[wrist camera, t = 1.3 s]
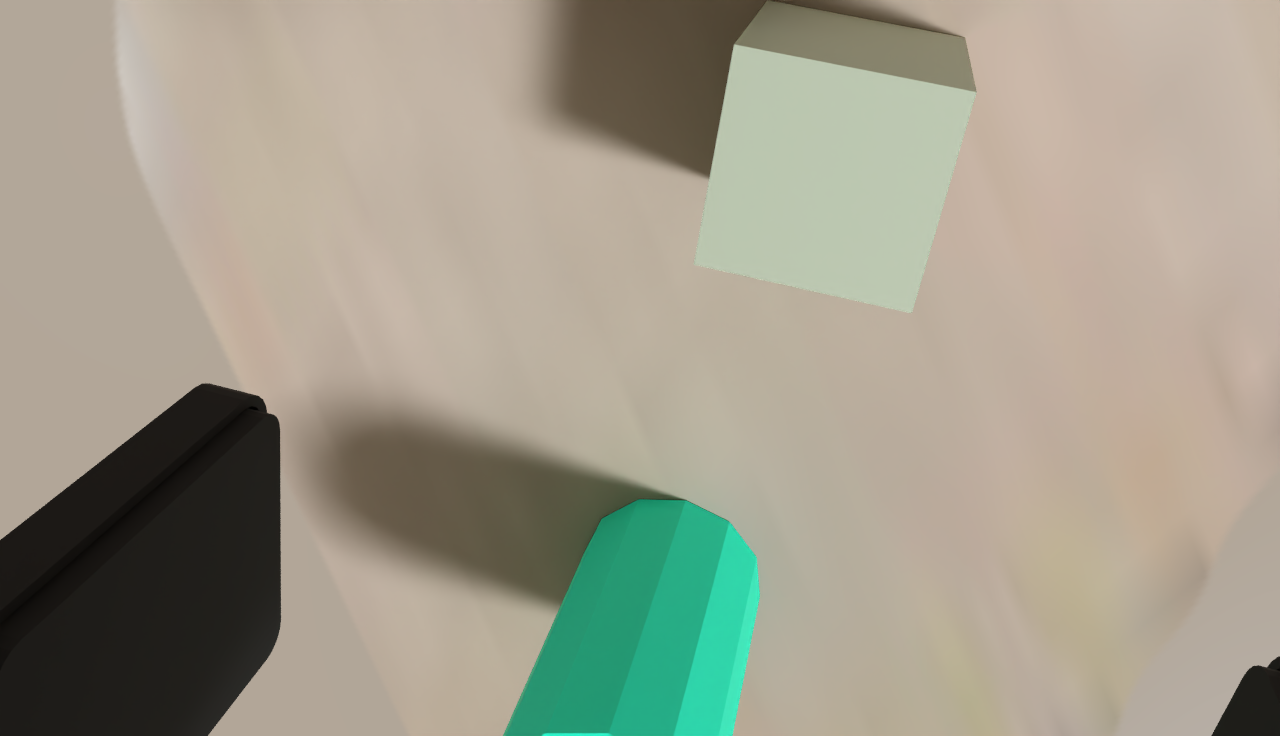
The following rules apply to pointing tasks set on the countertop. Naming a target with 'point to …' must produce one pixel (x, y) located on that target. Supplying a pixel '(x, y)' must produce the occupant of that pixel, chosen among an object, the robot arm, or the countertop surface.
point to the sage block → (835, 153)
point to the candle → (648, 630)
